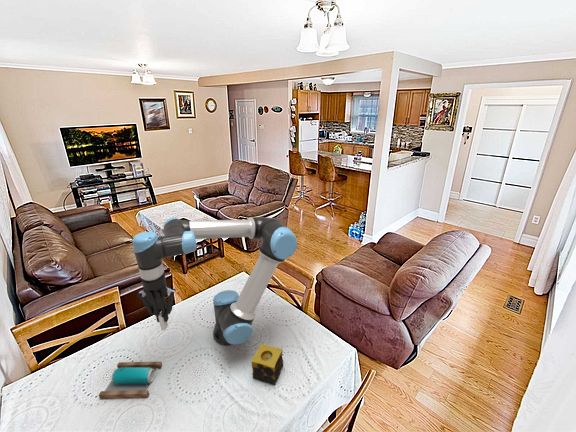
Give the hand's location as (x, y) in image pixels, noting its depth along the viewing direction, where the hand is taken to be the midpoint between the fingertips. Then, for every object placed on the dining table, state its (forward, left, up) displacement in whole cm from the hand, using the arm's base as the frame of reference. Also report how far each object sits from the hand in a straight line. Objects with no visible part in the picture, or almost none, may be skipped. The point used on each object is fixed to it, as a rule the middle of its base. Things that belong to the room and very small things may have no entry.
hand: (164, 327), depth 107 cm
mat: (+17, +2, -26) cm, 32 cm away
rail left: (+16, +8, -26) cm, 32 cm away
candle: (-39, -1, -27) cm, 47 cm away
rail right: (+16, -5, -26) cm, 31 cm away
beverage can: (+8, +2, -23) cm, 25 cm away
